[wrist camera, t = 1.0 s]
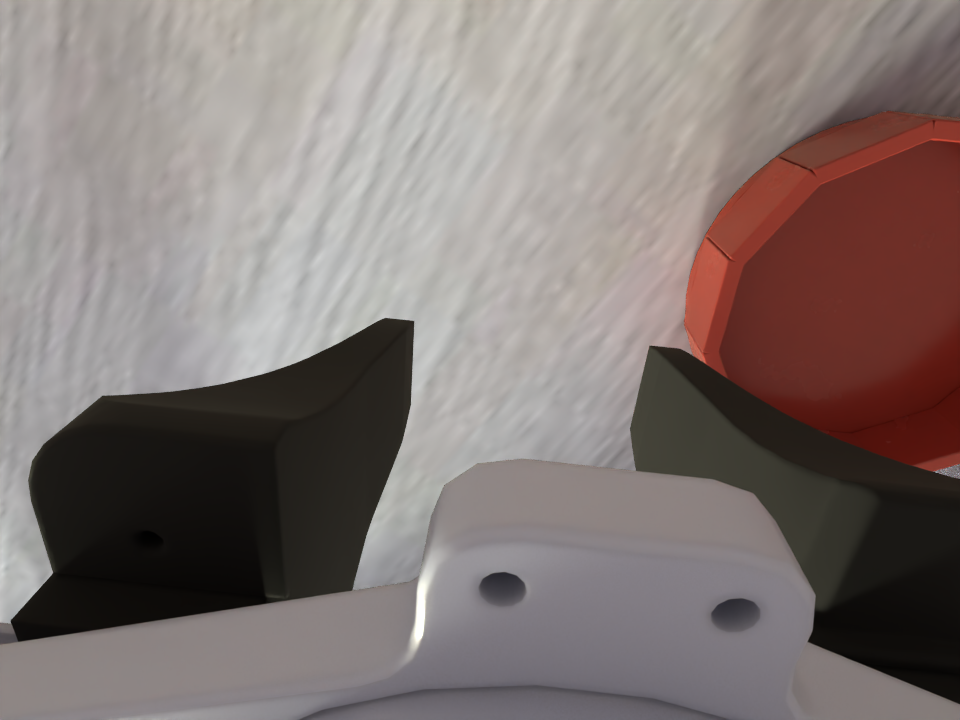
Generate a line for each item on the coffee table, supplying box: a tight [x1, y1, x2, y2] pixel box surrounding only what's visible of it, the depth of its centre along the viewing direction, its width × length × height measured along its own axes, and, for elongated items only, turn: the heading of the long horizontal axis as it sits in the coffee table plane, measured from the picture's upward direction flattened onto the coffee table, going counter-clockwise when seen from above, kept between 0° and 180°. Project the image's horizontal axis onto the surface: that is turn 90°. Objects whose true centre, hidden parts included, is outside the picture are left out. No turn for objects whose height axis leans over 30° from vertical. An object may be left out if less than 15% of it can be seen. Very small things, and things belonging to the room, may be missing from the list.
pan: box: [684, 111, 960, 472], centre depth 20 cm, size 17×11×3 cm, turn 175°
